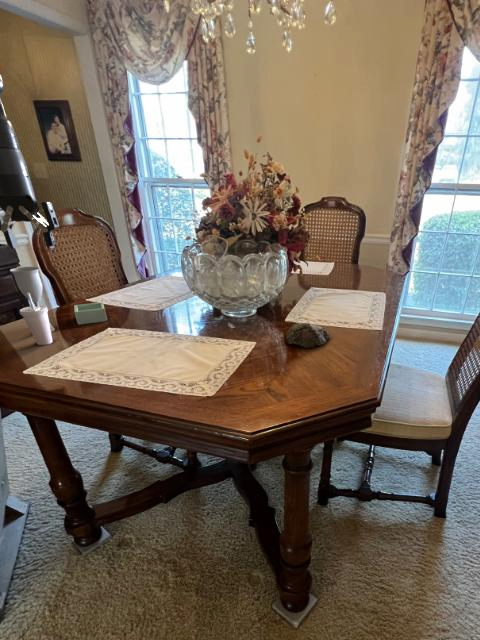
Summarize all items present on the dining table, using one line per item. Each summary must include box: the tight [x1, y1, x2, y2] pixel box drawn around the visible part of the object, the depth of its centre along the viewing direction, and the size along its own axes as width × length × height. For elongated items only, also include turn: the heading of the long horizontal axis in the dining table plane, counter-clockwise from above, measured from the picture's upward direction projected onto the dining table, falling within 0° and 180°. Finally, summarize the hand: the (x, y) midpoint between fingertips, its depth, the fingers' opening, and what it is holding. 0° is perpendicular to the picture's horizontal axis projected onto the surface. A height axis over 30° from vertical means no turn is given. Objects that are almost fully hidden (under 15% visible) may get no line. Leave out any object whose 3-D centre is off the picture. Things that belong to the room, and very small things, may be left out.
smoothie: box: [19, 293, 53, 346], centre depth 103 cm, size 6×6×14 cm
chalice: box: [9, 266, 56, 333], centre depth 111 cm, size 7×7×18 cm
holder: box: [73, 301, 108, 326], centre depth 124 cm, size 9×9×4 cm
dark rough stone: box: [285, 322, 330, 349], centre depth 109 cm, size 13×12×5 cm
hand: (33, 248), depth 94 cm, fingers open, 8 cm apart
